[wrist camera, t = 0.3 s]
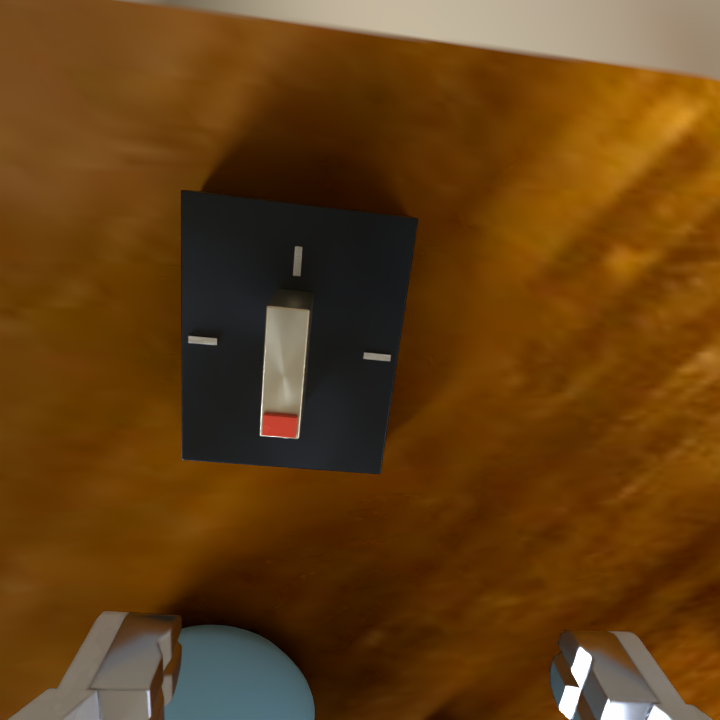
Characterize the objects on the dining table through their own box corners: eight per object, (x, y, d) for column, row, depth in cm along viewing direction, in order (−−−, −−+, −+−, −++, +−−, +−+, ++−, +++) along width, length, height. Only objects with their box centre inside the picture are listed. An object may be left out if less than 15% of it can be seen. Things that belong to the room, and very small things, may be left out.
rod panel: (198, 190, 24) (179, 189, 21) (409, 216, 25) (419, 218, 22) (196, 434, 29) (180, 461, 26) (375, 448, 30) (380, 476, 27)
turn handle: (277, 288, 23) (265, 306, 19) (314, 291, 23) (310, 311, 19) (270, 400, 25) (258, 439, 21) (304, 403, 25) (299, 442, 21)
